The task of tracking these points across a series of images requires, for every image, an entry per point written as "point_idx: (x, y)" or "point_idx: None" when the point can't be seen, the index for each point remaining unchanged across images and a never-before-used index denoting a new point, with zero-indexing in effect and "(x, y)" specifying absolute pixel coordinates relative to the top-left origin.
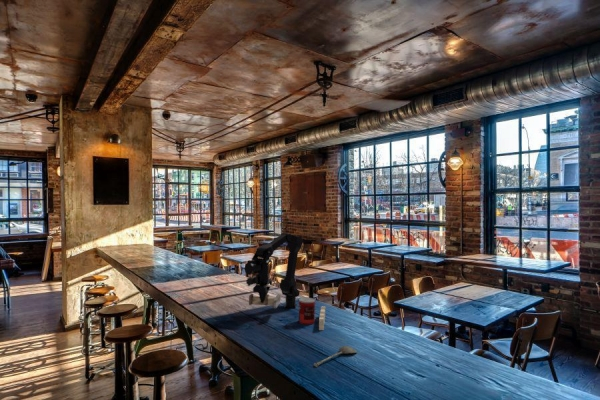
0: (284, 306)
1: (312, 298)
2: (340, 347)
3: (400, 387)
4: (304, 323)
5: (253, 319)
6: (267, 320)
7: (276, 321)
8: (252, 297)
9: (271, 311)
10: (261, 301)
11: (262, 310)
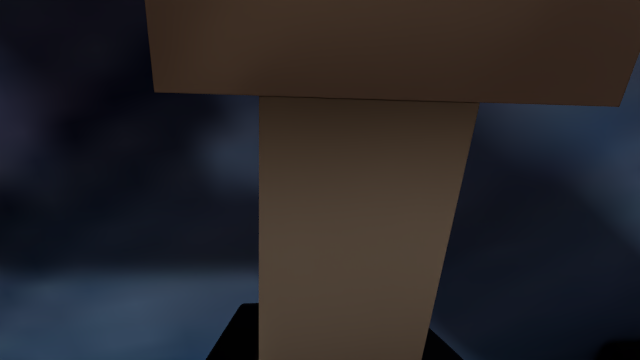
0: (623, 353)
1: None
2: None
3: None
4: None
5: (87, 67)
6: (108, 264)
7: (105, 356)
8: (284, 98)
9: (486, 242)
10: (227, 334)
11: (545, 120)
